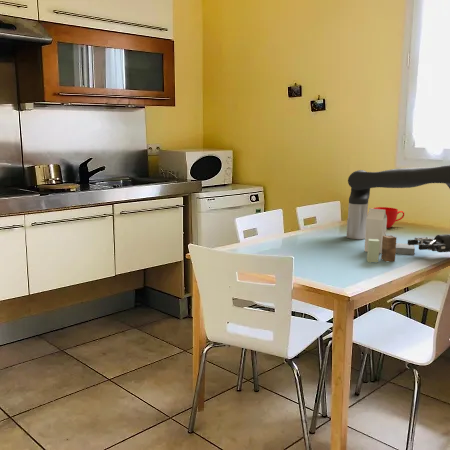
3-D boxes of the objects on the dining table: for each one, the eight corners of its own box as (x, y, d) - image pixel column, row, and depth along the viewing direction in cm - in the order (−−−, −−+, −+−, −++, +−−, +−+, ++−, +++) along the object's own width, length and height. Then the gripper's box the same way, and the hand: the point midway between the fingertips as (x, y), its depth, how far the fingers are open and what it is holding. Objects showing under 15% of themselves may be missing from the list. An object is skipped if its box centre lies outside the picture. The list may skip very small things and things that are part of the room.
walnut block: (385, 261, 214) (387, 237, 212) (381, 259, 218) (382, 235, 216) (394, 261, 215) (396, 237, 213) (389, 258, 219) (391, 235, 217)
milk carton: (380, 254, 227) (383, 210, 223) (364, 251, 230) (366, 209, 227) (384, 250, 232) (387, 208, 229) (369, 248, 236) (371, 207, 232)
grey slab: (392, 253, 229) (392, 247, 228) (392, 249, 237) (393, 242, 236) (414, 255, 226) (414, 248, 225) (413, 250, 234) (414, 244, 234)
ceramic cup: (407, 229, 278) (408, 211, 277) (375, 229, 279) (376, 210, 277) (399, 224, 291) (400, 207, 289) (369, 224, 291) (370, 207, 290)
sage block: (368, 262, 213) (369, 240, 211) (366, 259, 217) (368, 238, 215) (378, 262, 212) (379, 241, 211) (376, 260, 216) (378, 239, 214)
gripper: (439, 231, 227) (405, 232, 224) (459, 238, 213) (423, 239, 210) (437, 247, 228) (403, 249, 225) (458, 255, 214) (422, 257, 211)
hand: (413, 244), depth 217 cm, fingers open, 8 cm apart
